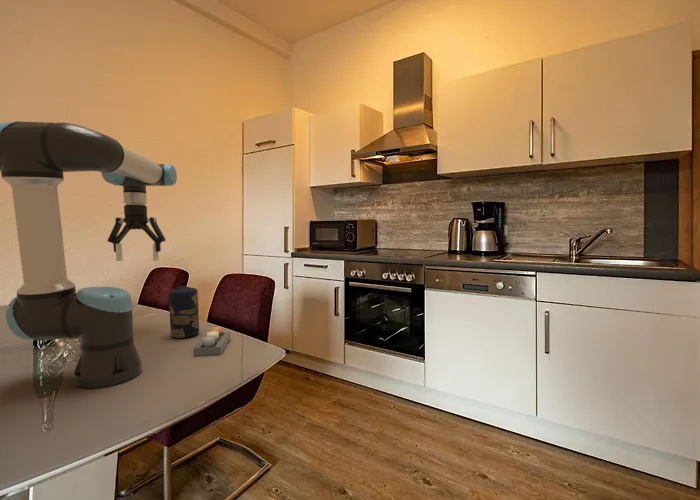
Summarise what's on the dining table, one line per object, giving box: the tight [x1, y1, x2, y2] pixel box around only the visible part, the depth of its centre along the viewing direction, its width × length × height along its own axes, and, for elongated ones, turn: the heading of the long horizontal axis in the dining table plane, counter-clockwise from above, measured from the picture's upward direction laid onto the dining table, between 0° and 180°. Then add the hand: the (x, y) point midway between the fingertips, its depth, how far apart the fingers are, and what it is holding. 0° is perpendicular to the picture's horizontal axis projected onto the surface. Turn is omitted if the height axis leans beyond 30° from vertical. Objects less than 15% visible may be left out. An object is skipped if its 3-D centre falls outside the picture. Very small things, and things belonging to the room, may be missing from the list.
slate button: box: [202, 336, 215, 347], centre depth 114 cm, size 4×4×2 cm
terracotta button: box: [210, 326, 223, 336], centre depth 125 cm, size 4×4×2 cm
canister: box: [168, 285, 200, 339], centre depth 132 cm, size 10×10×18 cm
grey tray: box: [192, 331, 231, 357], centre depth 120 cm, size 16×8×2 cm, turn 8°
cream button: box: [206, 330, 219, 341], centre depth 120 cm, size 4×4×2 cm
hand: (137, 260), depth 140 cm, fingers open, 13 cm apart
